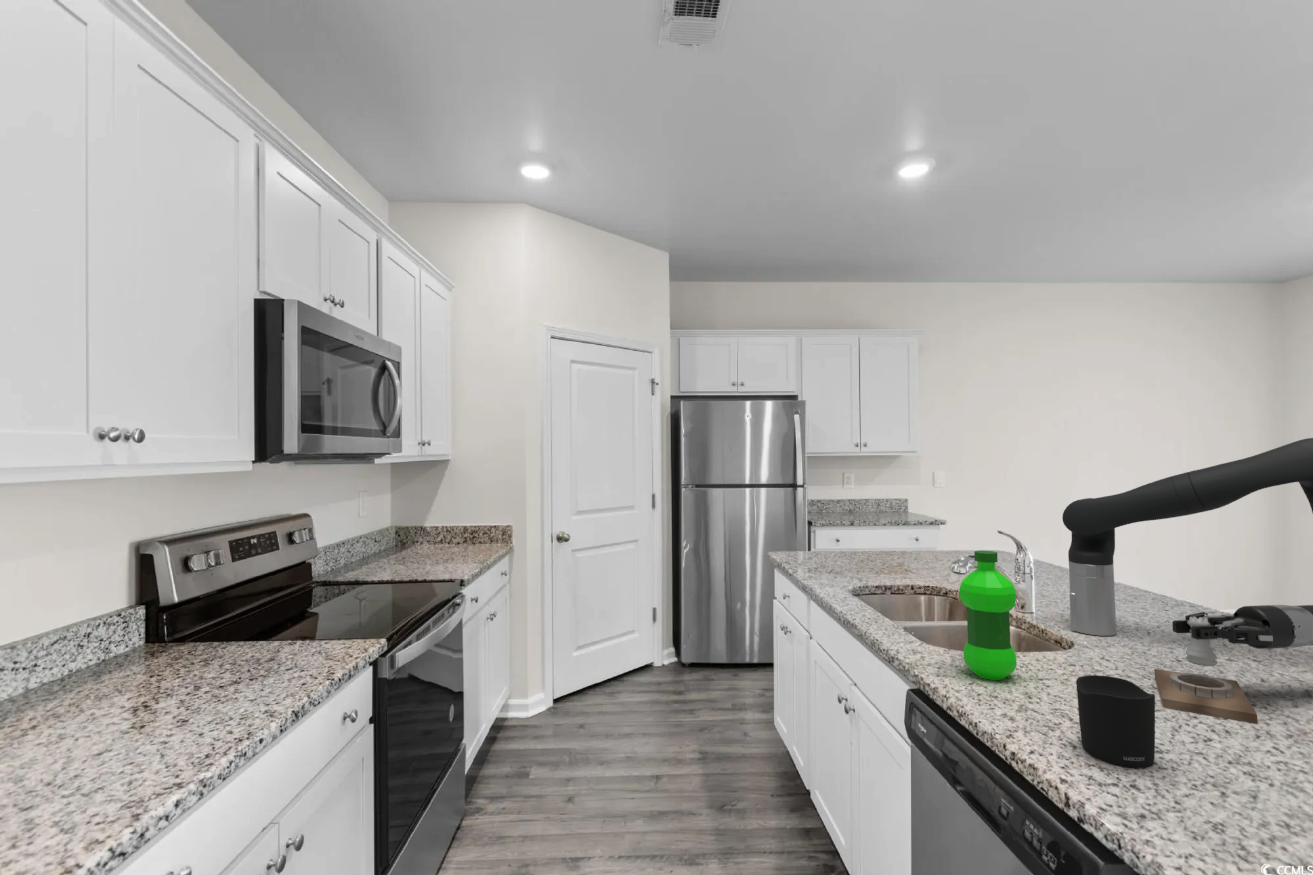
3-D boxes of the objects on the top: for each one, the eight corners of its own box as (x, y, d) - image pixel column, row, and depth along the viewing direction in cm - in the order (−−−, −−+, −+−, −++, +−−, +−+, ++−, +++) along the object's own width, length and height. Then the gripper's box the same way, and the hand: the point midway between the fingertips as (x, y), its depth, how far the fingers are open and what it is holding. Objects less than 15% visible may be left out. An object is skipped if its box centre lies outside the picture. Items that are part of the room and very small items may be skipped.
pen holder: (1072, 754, 91) (1069, 687, 91) (1086, 733, 97) (1083, 670, 98) (1153, 777, 84) (1150, 704, 84) (1161, 753, 90) (1158, 685, 91)
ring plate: (1162, 707, 107) (1162, 689, 107) (1154, 676, 121) (1154, 661, 121) (1257, 723, 100) (1256, 705, 100) (1236, 688, 114) (1236, 672, 114)
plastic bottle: (955, 665, 129) (951, 548, 130) (1009, 668, 127) (1005, 548, 128) (969, 682, 119) (965, 555, 120) (1028, 686, 117) (1023, 556, 118)
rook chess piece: (1212, 660, 112) (1209, 616, 112) (1222, 667, 108) (1219, 622, 108) (1181, 657, 113) (1178, 614, 114) (1190, 665, 109) (1187, 620, 110)
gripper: (1236, 597, 118) (1149, 600, 118) (1316, 615, 104) (1218, 619, 104) (1239, 635, 118) (1152, 639, 118) (1319, 659, 104) (1221, 663, 103)
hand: (1184, 629), depth 111 cm, fingers closed on rook chess piece, 3 cm apart
